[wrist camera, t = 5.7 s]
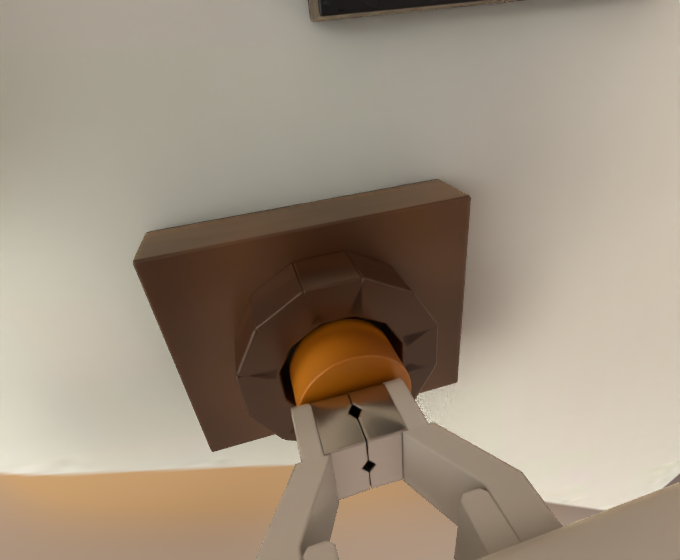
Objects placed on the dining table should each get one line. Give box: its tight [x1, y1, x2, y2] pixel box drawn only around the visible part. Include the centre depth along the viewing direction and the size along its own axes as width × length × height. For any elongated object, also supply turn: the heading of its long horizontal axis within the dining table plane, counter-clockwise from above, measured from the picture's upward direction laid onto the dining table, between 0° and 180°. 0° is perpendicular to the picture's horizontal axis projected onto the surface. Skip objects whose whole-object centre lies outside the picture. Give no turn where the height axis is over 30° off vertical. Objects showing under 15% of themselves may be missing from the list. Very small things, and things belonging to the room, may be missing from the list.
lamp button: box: [289, 319, 411, 406], centre depth 11 cm, size 3×3×2 cm
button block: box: [133, 179, 471, 452], centre depth 13 cm, size 10×8×4 cm
